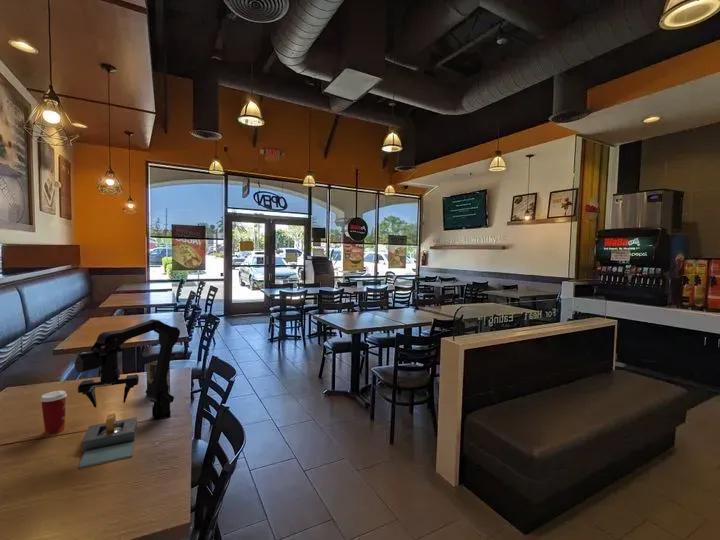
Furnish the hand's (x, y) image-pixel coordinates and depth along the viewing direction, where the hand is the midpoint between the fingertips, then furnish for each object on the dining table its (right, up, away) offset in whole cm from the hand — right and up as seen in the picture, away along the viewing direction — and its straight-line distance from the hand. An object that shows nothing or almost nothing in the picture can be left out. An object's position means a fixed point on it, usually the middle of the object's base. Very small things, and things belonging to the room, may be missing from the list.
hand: (110, 404), depth 138 cm
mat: (+7, -14, -11) cm, 19 cm away
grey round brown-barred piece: (0, -13, 0) cm, 13 cm away
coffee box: (-6, -11, +43) cm, 45 cm away
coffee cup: (-27, -13, +6) cm, 30 cm away
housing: (0, -13, 0) cm, 13 cm away
